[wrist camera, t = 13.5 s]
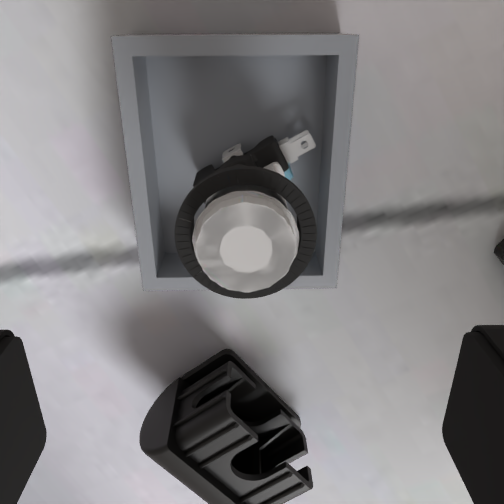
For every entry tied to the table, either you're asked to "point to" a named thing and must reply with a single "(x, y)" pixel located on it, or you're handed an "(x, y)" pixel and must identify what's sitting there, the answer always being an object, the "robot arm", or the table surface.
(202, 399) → the end cap
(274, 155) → the push button
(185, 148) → the rectangular tray
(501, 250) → the smart home device
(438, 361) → the table surface
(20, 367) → the robot arm
